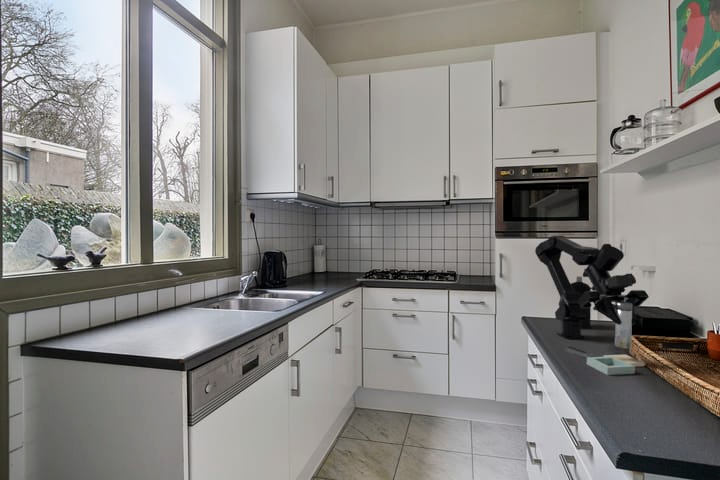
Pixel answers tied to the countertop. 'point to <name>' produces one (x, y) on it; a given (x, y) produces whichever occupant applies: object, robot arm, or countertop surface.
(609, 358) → the socket
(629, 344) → the grey round peg
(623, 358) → the beige square plate
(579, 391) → the countertop surface
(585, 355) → the bar
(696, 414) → the countertop surface
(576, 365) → the countertop surface
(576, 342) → the countertop surface
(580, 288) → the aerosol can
